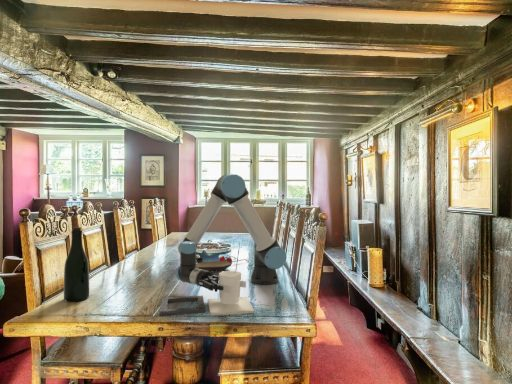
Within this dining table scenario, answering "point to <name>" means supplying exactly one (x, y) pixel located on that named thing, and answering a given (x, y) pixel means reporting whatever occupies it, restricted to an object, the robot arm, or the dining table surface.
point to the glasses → (228, 259)
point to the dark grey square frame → (182, 310)
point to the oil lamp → (212, 265)
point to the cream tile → (230, 307)
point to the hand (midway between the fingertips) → (237, 286)
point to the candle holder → (234, 281)
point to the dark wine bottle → (76, 270)
